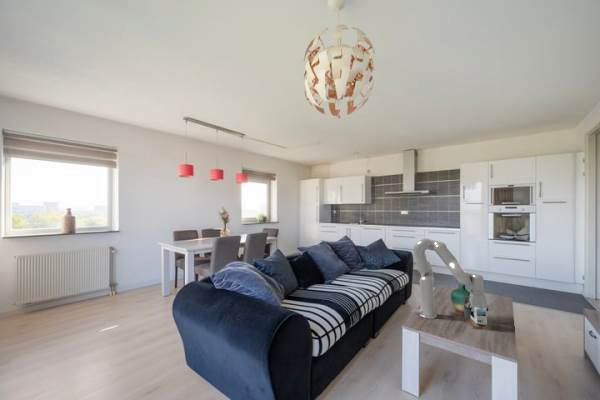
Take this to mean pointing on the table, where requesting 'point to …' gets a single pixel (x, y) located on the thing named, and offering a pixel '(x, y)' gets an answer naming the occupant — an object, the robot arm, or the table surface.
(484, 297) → the robot arm
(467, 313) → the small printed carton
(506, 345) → the table surface
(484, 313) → the light bulb box
